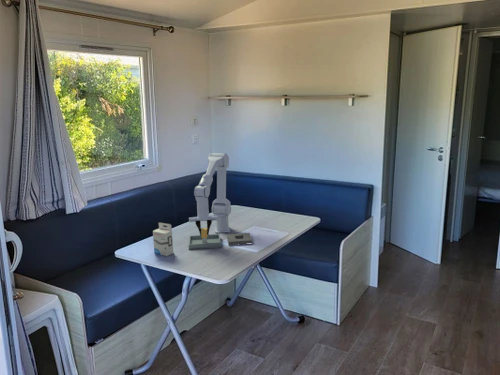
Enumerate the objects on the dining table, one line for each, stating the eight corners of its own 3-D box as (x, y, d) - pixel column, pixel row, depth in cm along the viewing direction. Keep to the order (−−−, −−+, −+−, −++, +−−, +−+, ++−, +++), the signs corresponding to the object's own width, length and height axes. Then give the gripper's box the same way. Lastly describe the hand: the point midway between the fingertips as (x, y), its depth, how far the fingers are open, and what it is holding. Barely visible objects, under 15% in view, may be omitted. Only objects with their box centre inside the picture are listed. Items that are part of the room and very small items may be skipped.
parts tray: (189, 240, 233) (189, 235, 233) (219, 238, 235) (219, 233, 234) (188, 249, 220) (188, 244, 219) (220, 247, 221) (220, 242, 221)
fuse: (201, 241, 228) (201, 228, 227) (207, 240, 229) (206, 227, 227) (201, 243, 225) (201, 230, 223) (207, 243, 225) (207, 230, 223)
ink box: (153, 253, 216) (151, 225, 213) (160, 250, 220) (158, 222, 217) (167, 256, 212) (165, 227, 208) (174, 253, 216) (172, 224, 213)
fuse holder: (227, 237, 235) (227, 234, 235) (249, 236, 237) (249, 232, 236) (228, 245, 224) (228, 241, 223) (252, 244, 225) (251, 240, 224)
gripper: (188, 211, 219) (189, 237, 222) (217, 210, 220) (218, 236, 223) (188, 208, 226) (190, 233, 229) (217, 206, 227) (218, 231, 230)
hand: (204, 234), depth 226 cm, fingers closed on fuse, 3 cm apart
